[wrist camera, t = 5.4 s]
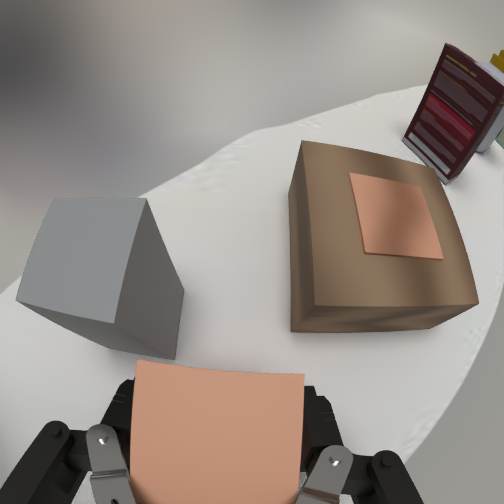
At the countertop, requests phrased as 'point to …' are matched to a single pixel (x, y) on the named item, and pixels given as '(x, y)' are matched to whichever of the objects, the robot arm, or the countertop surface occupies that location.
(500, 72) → the soap bottle
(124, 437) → the robot arm
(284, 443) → the terracotta pillar
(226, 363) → the countertop surface
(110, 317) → the slate-grey pillar
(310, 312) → the walnut base block
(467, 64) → the supplement box
